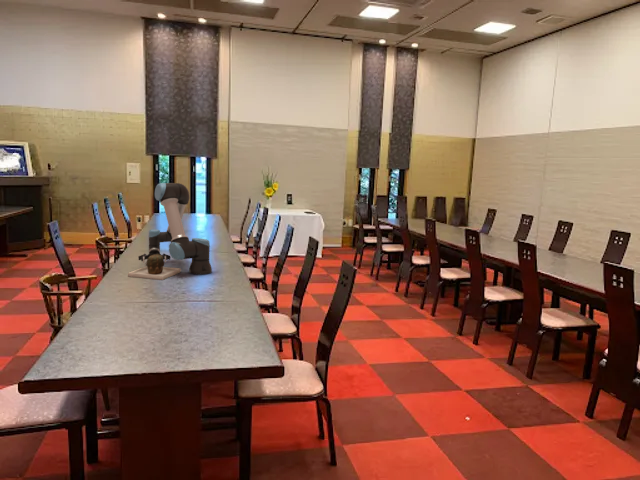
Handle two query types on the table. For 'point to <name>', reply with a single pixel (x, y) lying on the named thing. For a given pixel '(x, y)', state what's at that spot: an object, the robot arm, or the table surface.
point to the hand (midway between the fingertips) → (154, 260)
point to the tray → (144, 274)
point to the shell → (155, 264)
